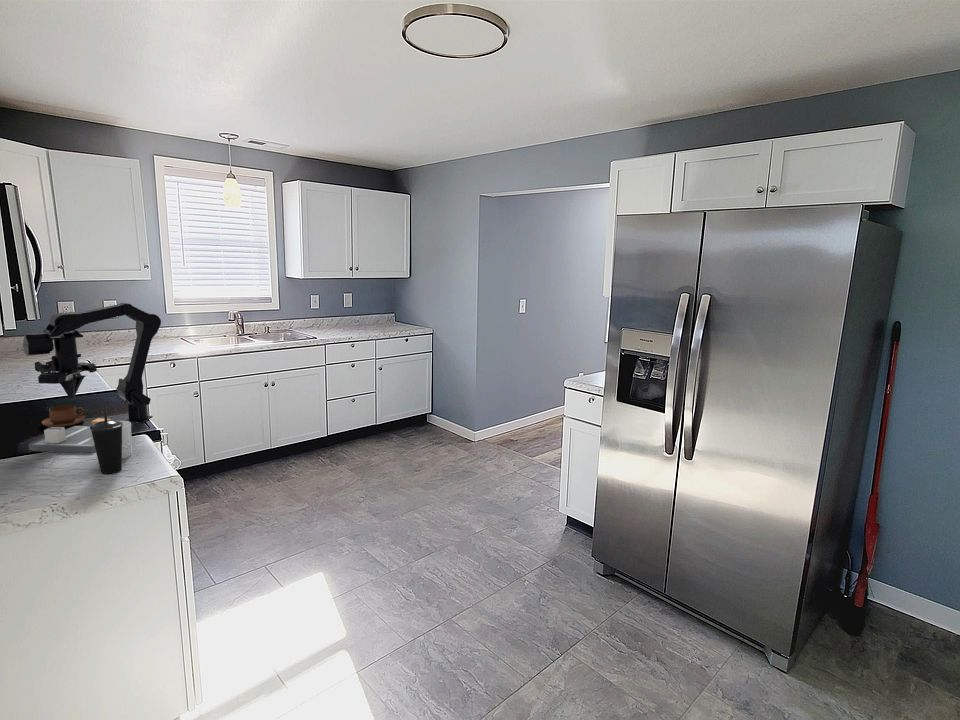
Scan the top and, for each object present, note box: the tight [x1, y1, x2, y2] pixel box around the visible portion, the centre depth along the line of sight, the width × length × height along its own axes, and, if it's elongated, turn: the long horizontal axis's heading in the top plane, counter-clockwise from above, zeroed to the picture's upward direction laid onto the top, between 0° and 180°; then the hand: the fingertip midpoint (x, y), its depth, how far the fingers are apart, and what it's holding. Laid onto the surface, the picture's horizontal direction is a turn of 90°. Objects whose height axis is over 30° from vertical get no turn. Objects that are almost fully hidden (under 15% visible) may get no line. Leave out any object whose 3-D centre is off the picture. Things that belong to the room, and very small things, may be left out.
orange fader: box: [91, 417, 112, 425], centre depth 175 cm, size 3×4×4 cm
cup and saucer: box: [41, 404, 86, 428], centre depth 187 cm, size 12×12×6 cm
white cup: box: [119, 420, 133, 460], centre depth 161 cm, size 8×8×10 cm
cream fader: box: [43, 427, 66, 443], centre depth 166 cm, size 3×4×4 cm
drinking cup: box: [90, 402, 123, 476], centre depth 150 cm, size 8×8×20 cm
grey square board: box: [31, 425, 96, 454], centre depth 172 cm, size 18×18×2 cm
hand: (71, 398), depth 178 cm, fingers closed
